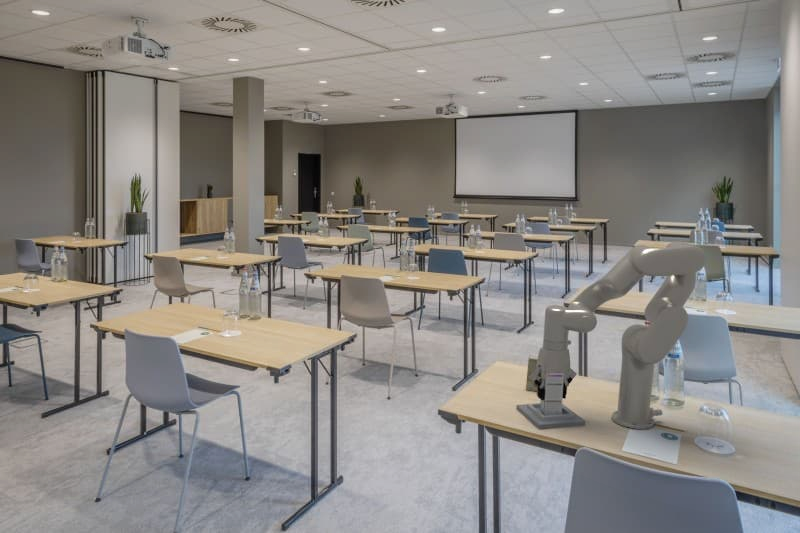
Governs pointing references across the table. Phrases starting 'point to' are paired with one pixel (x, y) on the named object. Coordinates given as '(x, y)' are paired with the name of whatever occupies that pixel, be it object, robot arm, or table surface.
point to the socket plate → (550, 417)
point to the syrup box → (553, 394)
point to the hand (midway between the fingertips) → (551, 397)
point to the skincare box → (531, 368)
